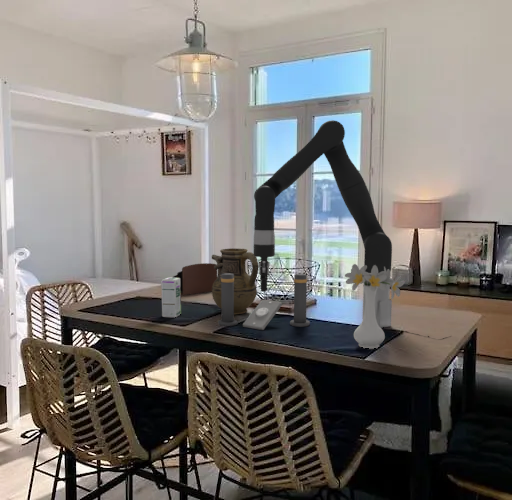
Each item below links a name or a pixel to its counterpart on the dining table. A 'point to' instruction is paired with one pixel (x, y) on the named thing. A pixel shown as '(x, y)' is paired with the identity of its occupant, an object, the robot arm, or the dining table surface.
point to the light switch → (262, 314)
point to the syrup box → (171, 297)
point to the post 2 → (300, 301)
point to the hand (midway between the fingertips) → (263, 291)
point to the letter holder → (197, 278)
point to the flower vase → (371, 302)
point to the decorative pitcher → (236, 277)
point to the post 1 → (227, 300)
